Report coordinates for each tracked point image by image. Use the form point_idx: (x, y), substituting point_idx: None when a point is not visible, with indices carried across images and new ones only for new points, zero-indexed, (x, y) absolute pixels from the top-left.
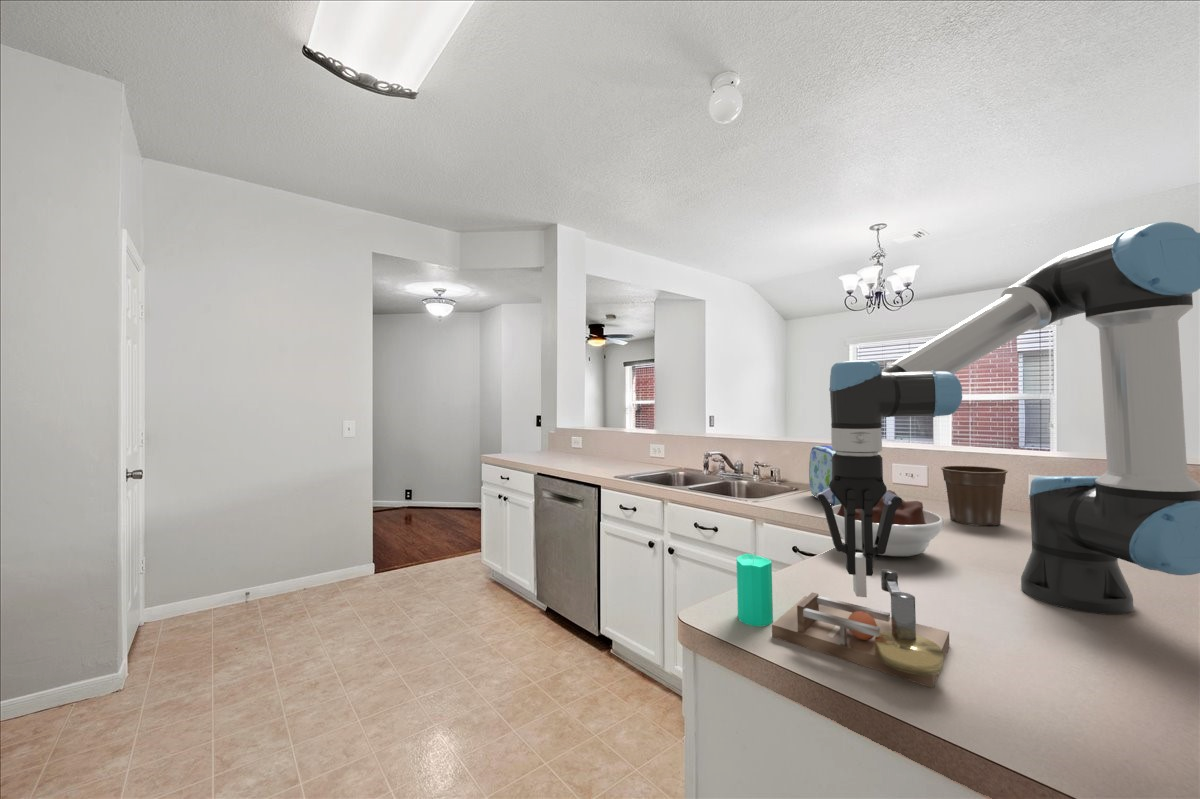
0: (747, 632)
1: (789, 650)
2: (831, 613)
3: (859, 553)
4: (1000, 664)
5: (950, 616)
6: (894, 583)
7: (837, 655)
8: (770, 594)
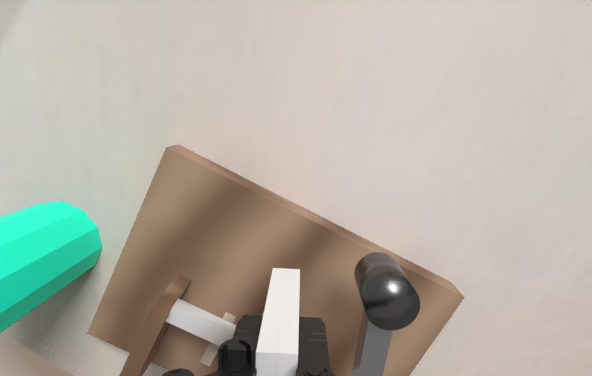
0: (54, 307)
1: None
2: (223, 251)
3: (283, 364)
4: (505, 339)
5: (534, 129)
6: (382, 349)
7: None
8: (47, 291)
